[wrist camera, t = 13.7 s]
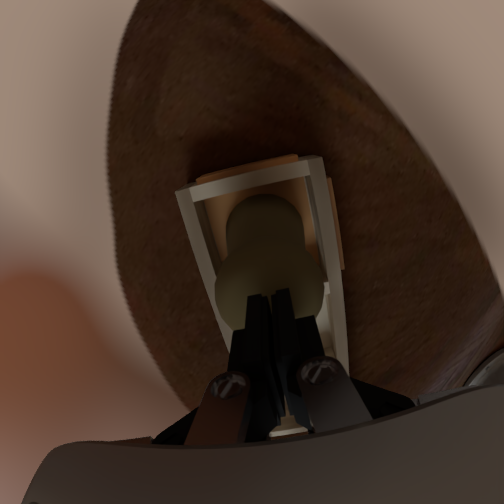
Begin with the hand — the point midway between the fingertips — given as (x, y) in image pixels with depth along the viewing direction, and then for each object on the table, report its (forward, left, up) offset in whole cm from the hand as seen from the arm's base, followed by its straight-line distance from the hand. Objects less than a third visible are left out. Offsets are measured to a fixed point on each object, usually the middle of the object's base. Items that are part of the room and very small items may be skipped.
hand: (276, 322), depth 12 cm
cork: (0, 0, -12) cm, 12 cm away
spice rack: (0, +9, -12) cm, 15 cm away
